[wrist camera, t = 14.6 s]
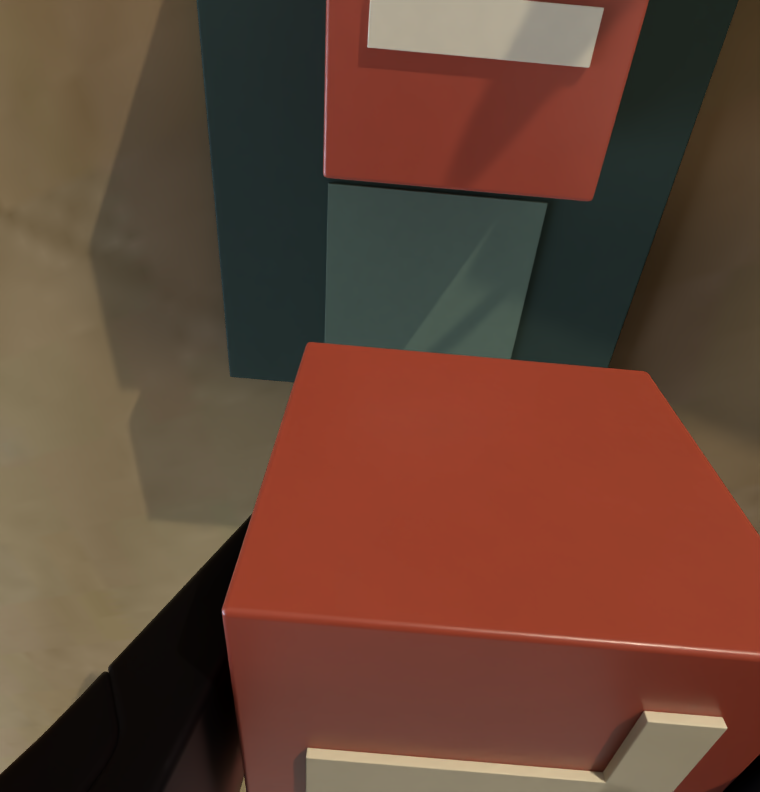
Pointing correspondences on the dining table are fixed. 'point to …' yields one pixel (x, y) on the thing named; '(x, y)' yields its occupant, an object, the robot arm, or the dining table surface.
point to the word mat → (428, 209)
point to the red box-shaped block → (476, 92)
